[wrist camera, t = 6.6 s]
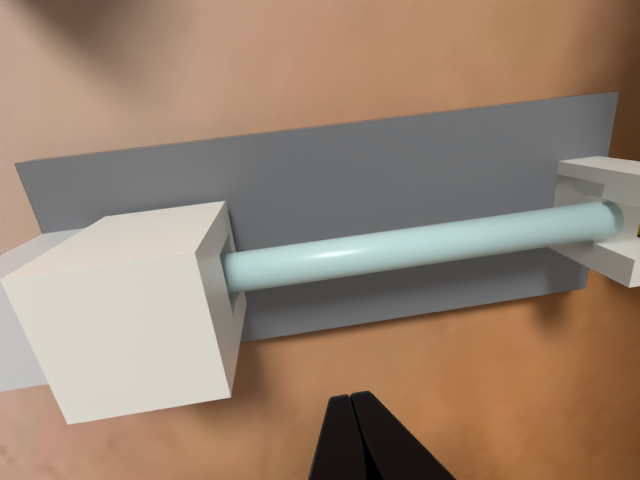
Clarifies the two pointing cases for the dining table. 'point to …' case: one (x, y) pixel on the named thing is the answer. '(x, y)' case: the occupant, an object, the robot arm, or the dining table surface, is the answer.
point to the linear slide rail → (368, 213)
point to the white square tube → (134, 312)
